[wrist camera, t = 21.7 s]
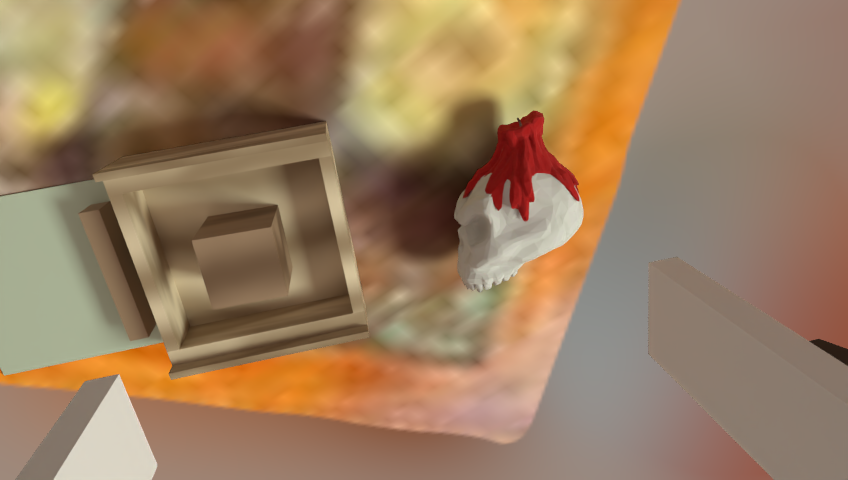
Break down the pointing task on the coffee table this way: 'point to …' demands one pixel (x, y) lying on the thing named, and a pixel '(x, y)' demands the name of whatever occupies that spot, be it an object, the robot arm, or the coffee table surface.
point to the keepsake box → (231, 192)
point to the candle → (515, 206)
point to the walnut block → (243, 257)
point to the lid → (67, 280)
